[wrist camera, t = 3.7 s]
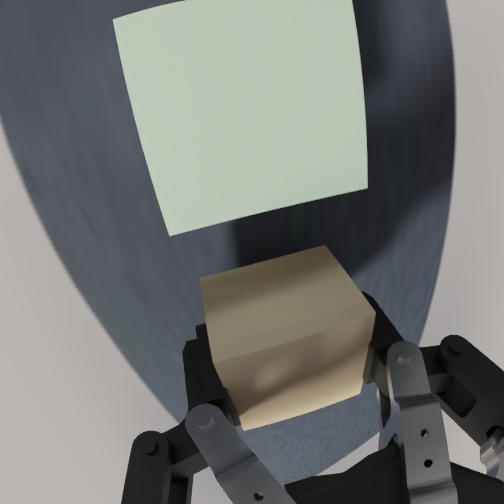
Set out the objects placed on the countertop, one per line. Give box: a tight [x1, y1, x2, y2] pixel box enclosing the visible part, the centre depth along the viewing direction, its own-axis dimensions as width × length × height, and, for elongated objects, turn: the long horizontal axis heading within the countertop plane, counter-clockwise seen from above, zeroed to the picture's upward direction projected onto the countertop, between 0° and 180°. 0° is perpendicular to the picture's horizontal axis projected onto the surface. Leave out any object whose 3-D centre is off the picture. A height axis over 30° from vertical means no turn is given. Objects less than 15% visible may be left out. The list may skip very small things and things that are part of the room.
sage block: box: [113, 0, 368, 236], centre depth 8 cm, size 5×5×5 cm
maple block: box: [199, 245, 376, 431], centre depth 12 cm, size 5×5×4 cm
